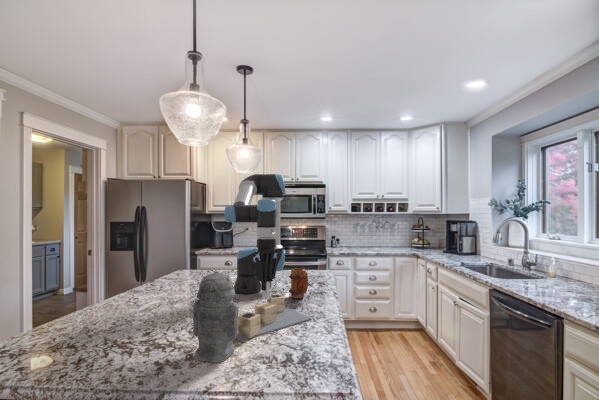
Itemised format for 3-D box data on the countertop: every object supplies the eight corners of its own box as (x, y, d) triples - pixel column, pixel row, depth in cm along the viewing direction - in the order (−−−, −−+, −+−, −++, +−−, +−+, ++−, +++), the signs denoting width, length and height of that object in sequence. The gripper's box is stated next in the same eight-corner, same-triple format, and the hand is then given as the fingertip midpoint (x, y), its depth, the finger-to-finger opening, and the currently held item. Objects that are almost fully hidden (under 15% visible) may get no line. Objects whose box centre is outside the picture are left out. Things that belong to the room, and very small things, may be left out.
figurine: (202, 344, 94) (203, 267, 95) (242, 349, 91) (243, 269, 92) (184, 359, 85) (185, 273, 86) (228, 365, 82) (229, 276, 83)
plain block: (255, 321, 113) (255, 305, 114) (266, 317, 118) (266, 302, 118) (265, 325, 109) (265, 309, 110) (276, 320, 114) (276, 305, 114)
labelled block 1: (236, 334, 101) (236, 316, 101) (246, 328, 106) (246, 311, 106) (250, 338, 98) (250, 319, 98) (260, 331, 103) (260, 313, 104)
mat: (215, 323, 112) (215, 322, 112) (282, 307, 132) (282, 305, 132) (239, 341, 96) (239, 339, 96) (311, 319, 117) (311, 318, 117)
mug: (286, 296, 150) (286, 266, 150) (300, 294, 153) (300, 265, 154) (298, 304, 136) (298, 272, 137) (313, 301, 140) (313, 270, 140)
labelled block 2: (266, 309, 128) (266, 294, 128) (279, 307, 130) (279, 293, 130) (271, 313, 122) (271, 298, 122) (284, 311, 124) (284, 296, 125)
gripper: (260, 239, 108) (259, 304, 106) (284, 237, 117) (284, 296, 116) (247, 238, 112) (246, 300, 111) (271, 236, 122) (271, 293, 121)
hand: (265, 298), depth 114 cm, fingers closed
